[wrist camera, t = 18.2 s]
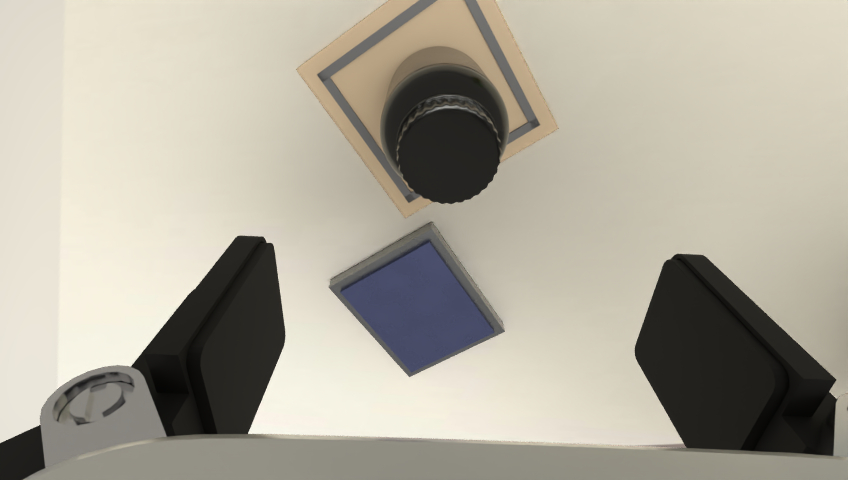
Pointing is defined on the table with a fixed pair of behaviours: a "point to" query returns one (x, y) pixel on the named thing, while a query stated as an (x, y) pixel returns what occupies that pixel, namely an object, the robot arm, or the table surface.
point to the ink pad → (418, 301)
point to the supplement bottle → (443, 125)
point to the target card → (394, 42)
